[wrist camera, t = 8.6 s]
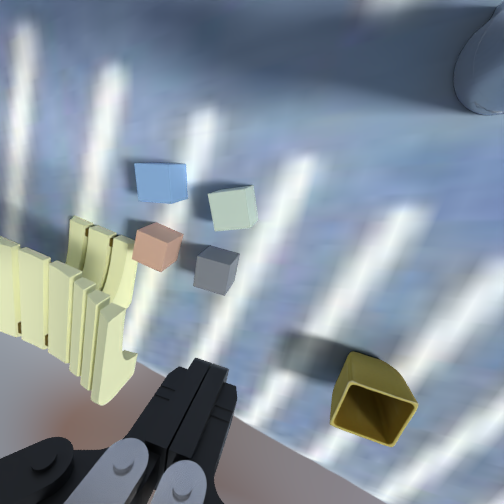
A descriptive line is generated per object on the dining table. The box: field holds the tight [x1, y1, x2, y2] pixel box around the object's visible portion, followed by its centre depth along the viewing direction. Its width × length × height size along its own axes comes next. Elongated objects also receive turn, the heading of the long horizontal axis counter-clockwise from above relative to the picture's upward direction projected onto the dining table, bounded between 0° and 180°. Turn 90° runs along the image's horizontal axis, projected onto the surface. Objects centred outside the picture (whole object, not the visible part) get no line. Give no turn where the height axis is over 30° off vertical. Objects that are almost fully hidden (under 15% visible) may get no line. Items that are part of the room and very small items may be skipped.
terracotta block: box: [132, 223, 183, 272], centre depth 41 cm, size 5×5×5 cm
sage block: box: [208, 185, 258, 231], centre depth 36 cm, size 5×5×5 cm
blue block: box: [134, 163, 188, 204], centre depth 37 cm, size 5×5×5 cm
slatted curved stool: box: [0, 216, 138, 405], centre depth 40 cm, size 30×16×18 cm, turn 72°
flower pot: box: [330, 351, 418, 447], centre depth 39 cm, size 9×9×9 cm
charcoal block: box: [193, 245, 240, 296], centre depth 40 cm, size 5×5×5 cm
